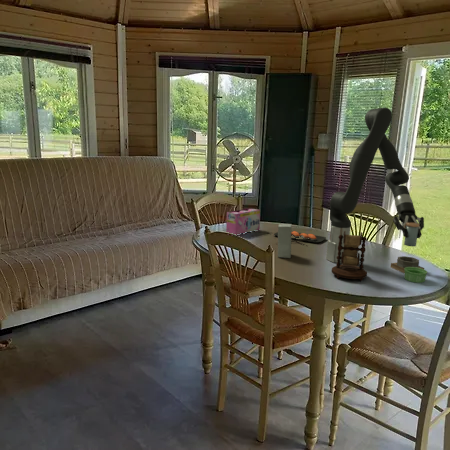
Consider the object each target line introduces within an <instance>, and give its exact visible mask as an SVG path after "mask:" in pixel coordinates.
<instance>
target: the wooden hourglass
mask: <svg viewBox="0 0 450 450" xmlns="http://www.w3.org/2000/svg"><path fill="white" fill-rule="evenodd" d="M342 239H343V243H344V247H342V246H341V245H342ZM366 241H367V236H363V232H362V231H360V234H359V235H356V234H350V235H345V231H344V237H343V235H339V243H338V244H339V245H338V256H337V261H338V262H337V263H336V264H335V266H333V267H331V274H333V275H334V276H336V278H337V279H338V280H339V279H340V278H344V279H348V280H349V279H350V280H360V282H362V281H363V279H364V278H365V279H366V277H367V276H368V271H367V270H365V269H364V262H365V253H366ZM342 249H344V250H343V252H342V255H341V250H342ZM340 255H341V256H340ZM340 260H341V263H340Z"/></svg>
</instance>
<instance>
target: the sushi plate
mask: <svg viewBox="0 0 450 450" xmlns="http://www.w3.org/2000/svg"><path fill="white" fill-rule="evenodd" d="M292 235H293V236H294V237H295V238H291V243H297V244H299V243H300V245H302V244H303V245H302V246H304V245H306V247H308V245H307V244H305V243H302V242H307V241H308V242H309V243H315V244H316V243H317V244H319V243H322V242H324V241H325V240H326V239H327V237H326V236H322V235H315V234H313V233H304V232H298V231H295V230H294V231H291V236H292ZM273 236H276V237H278V231H277V232H275V233H274V234H273ZM299 236H300V237H302V238H303V239H296V238H299ZM308 238H309V239H308ZM295 239H296V240H295ZM300 241H302V242H300Z"/></svg>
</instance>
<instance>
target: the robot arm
mask: <svg viewBox="0 0 450 450" xmlns="http://www.w3.org/2000/svg"><path fill="white" fill-rule="evenodd" d="M392 119H393V113H392V111H391V109H390V108H388V107H377V108H371V109H369V110H368V111H367V112H366V113H365V116H364V122H365V125H366V128H368V129H367V130H368V131H369V133H368V134H367V136H366V137H365V138H364V139H363V141H362V142H361V143H360V144H359V145H358V146H357V148H356V149H355V151H354V153H353V155H352V156H351V157H352V158H351V160H350V162H349V167H348V168H349V170H348V171H349V184H348V186H347V188H346V191H345V192H344V191H336V192H334V193H333V194H332V196H331V198H330V203H329V220H330V230H329V239H328V240H327V243H326V244H327V245H326V247H327V248H326V254H325V255H326V256H325V260H328V261H330V263H333V264H334V263H336V264H337V262H338V261H337V256H338V245H339V244H338V243H339V235H343V237H344V231H345V235H351V227H352V220H351V219H350V218H349V217H348V216H347V214H351V213H352V212H354V210H355V209H356V207H357V205H358V202H359V199H360V195H361V191H362V188H363V186H364V184H365V181H366V178H367V175H368V173H369V171H370V168H371V166H372V163H373V160H374V158H375V156H376V154H377V151H379V153H380V156H381V158H382V163H383V165H384V167H385V169H386V170H396V171H392V172H389V173H387V174H386V175H385V178H384V181H385V184H386V185H387V187H388V188H389V189H390V191H391V193H392V195H393V199H394V204H395V205H394V206H395V209H396V212H397V216H396V215H395V216H394V217H393V218H392V222H393V224H394V226H395V228H396V230H398V231H401V232H402V235H403V237H404V239H405V238H407V237H408V236H409V235H408V231H407V229H406V223H407V222H414V223H419V228H418V235H417V239H420V238H421V237H422V230H423V229H424V228H425V218H424V217H423V216H421V217H418V216H417V214H416V209H415V207H414V206H415V205H414V202H413V199H412V197H411V195H410V191H409V188H408V186H406V185H405V184H407V183H408V182H409V180H410V177H409V174H408V172H407V171H406V170H405V168H404V167H403V165H402V164H401V161H400V158H399V155H398V152H397V150H396V147H395V145H394V144H393V143H392V142H391V141H390V139H389V138H388V137H387V135H386V132H387V130H388V129H389V128H390V125H391V123H392ZM341 246H342V247H344V243H343V239H342V245H341ZM343 250H344V249H342V250H341V255H342V252H343ZM341 255H340V256H341ZM340 264H341V260H340Z"/></svg>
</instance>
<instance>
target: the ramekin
mask: <svg viewBox="0 0 450 450" xmlns="http://www.w3.org/2000/svg"><path fill="white" fill-rule="evenodd" d="M404 271H405V273H404V274H403V275H404V276H403V277H404V280H406V281H408V282H411V283H416V284H417V283H418V284H420V283H421V284H422V283H425V282H426V277H427V274H428V271H427V269H425V268H424V269H421V268H417V267H406V268H404Z"/></svg>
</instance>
